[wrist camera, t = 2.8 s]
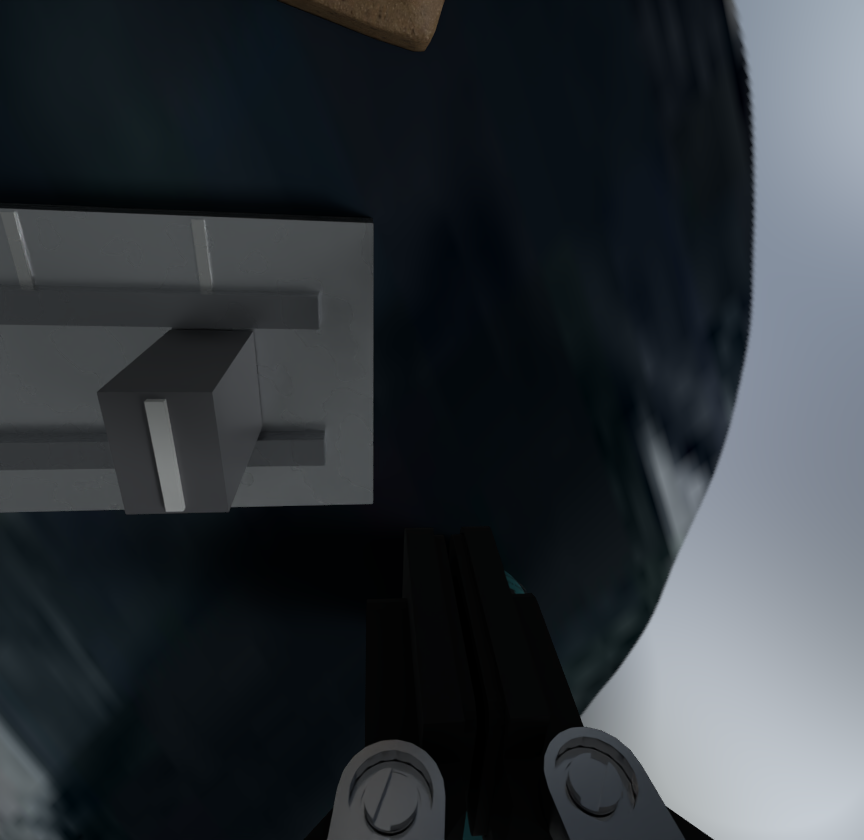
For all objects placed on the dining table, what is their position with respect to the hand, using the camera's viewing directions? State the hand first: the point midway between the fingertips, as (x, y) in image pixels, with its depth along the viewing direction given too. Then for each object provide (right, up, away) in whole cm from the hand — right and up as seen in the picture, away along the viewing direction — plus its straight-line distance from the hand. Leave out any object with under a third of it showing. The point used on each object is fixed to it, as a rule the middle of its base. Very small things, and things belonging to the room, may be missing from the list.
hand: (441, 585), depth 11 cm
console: (-16, +6, +11) cm, 20 cm away
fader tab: (-9, +5, +10) cm, 14 cm away
